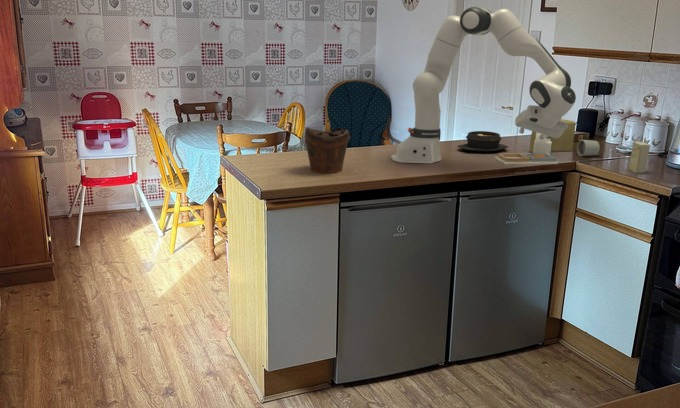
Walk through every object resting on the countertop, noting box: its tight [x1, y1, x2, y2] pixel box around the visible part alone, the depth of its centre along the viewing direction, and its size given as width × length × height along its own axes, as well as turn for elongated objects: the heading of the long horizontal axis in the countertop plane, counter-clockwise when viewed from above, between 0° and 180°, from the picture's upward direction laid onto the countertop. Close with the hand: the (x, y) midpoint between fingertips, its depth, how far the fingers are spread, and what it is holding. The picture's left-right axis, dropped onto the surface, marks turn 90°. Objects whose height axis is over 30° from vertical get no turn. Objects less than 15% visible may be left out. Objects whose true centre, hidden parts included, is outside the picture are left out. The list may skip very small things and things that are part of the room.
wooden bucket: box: [304, 127, 351, 174], centre depth 253 cm, size 18×20×18 cm
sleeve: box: [533, 132, 547, 158], centre depth 275 cm, size 5×5×12 cm
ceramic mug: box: [576, 139, 601, 157], centre depth 291 cm, size 11×8×8 cm
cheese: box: [529, 118, 577, 153], centre depth 299 cm, size 22×10×15 cm, turn 112°
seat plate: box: [494, 152, 559, 165], centre depth 277 cm, size 24×13×2 cm, turn 95°
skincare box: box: [628, 141, 651, 174], centre depth 258 cm, size 6×4×12 cm
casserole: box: [457, 130, 509, 153], centre depth 299 cm, size 25×19×8 cm
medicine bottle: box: [532, 137, 552, 156], centre depth 287 cm, size 7×7×12 cm
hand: (530, 135), depth 263 cm, fingers open, 8 cm apart
